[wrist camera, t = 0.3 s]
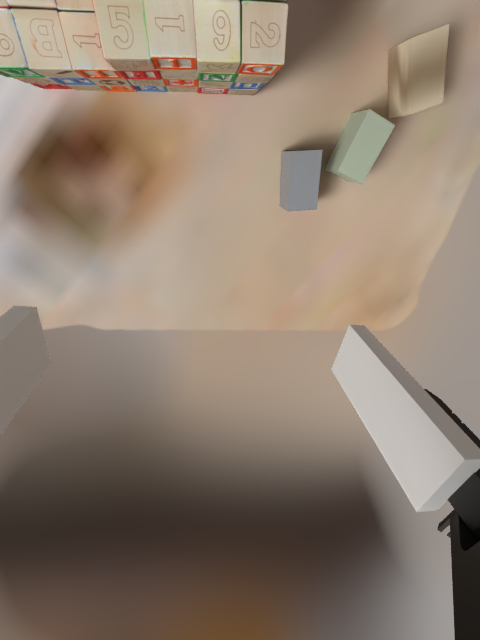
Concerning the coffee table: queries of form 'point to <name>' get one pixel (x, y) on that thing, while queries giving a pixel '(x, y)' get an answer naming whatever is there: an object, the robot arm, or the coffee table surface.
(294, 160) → the grey brick
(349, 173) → the sage brick
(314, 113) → the coffee table surface
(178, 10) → the stack of blocks
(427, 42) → the maple brick
